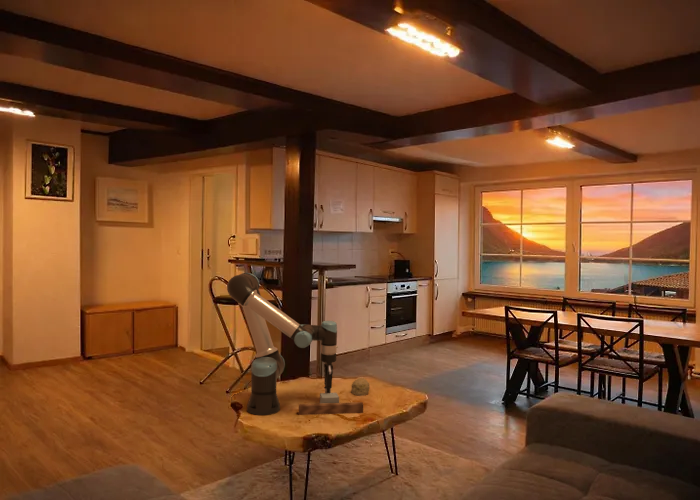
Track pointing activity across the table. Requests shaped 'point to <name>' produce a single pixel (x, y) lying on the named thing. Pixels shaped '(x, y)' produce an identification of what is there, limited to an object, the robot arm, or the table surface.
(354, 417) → the table surface
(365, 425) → the table surface
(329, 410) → the brown wooden bar
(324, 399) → the block
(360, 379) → the decorative object
